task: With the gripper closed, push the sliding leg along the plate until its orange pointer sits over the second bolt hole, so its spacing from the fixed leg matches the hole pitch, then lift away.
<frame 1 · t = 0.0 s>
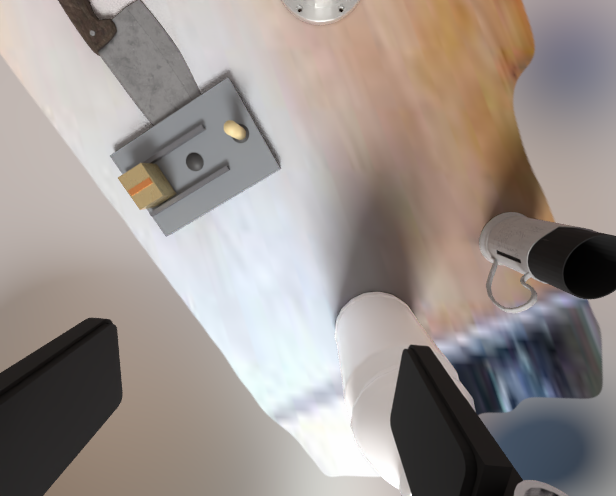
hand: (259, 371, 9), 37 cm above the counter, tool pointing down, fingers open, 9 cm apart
sliding leg: (148, 186, 41), point 4 cm above the counter, slide at 0.0 cm
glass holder: (491, 249, 47), on the counter
bolt plate: (198, 162, 44), on the counter
cleaver: (125, 37, 40), on the counter
bottle: (373, 326, 50), on the counter
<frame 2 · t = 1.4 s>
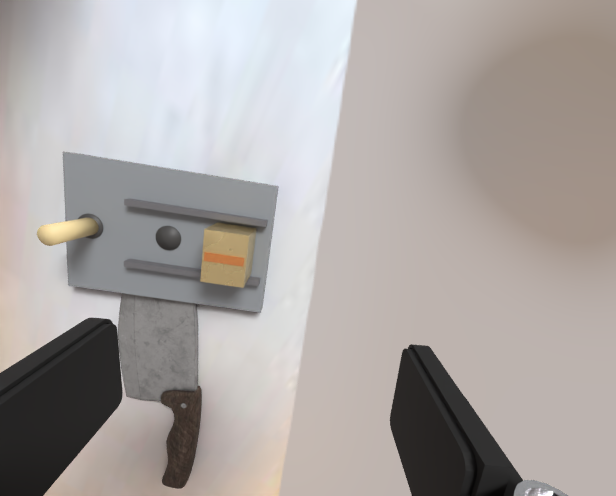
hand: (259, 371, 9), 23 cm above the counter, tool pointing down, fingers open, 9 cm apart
sliding leg: (229, 253, 28), point 4 cm above the counter, slide at 0.0 cm
bolt plate: (175, 235, 31), on the counter
cleaver: (167, 381, 36), on the counter
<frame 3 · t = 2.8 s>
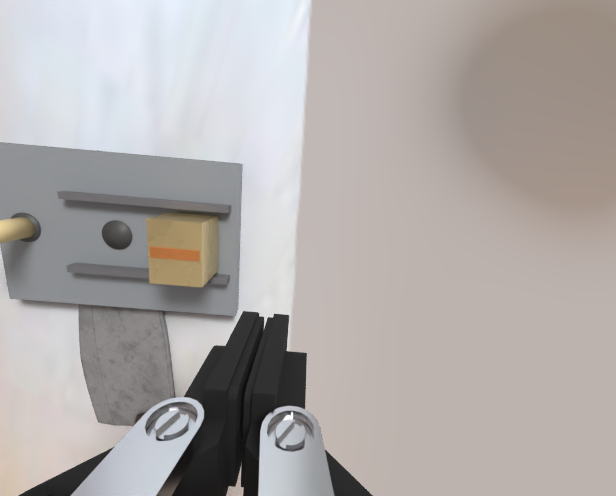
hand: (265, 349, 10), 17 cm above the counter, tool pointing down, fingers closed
sliding leg: (185, 247, 23), point 4 cm above the counter, slide at 0.0 cm
bolt plate: (127, 231, 27), on the counter
cleaver: (143, 402, 32), on the counter
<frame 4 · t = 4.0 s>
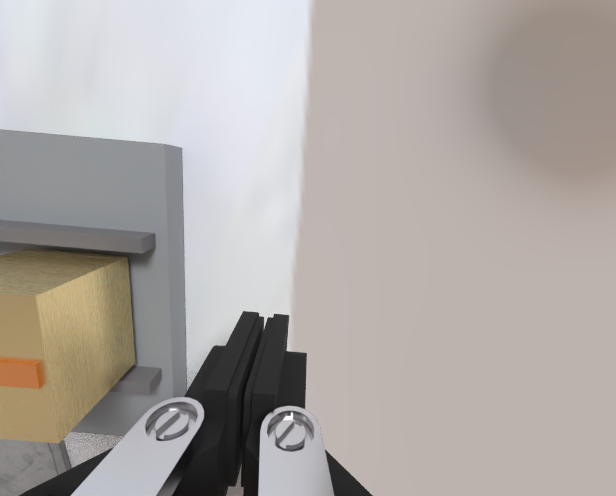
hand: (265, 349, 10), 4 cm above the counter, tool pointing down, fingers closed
sliding leg: (40, 334, 10), point 4 cm above the counter, slide at 0.0 cm
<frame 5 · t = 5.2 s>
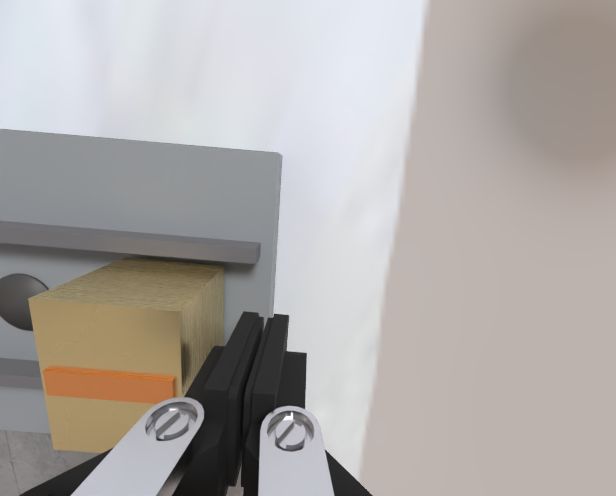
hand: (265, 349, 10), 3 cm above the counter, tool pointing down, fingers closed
sliding leg: (149, 346, 10), point 4 cm above the counter, slide at 0.4 cm, touching gripper
bolt plate: (56, 288, 14), on the counter
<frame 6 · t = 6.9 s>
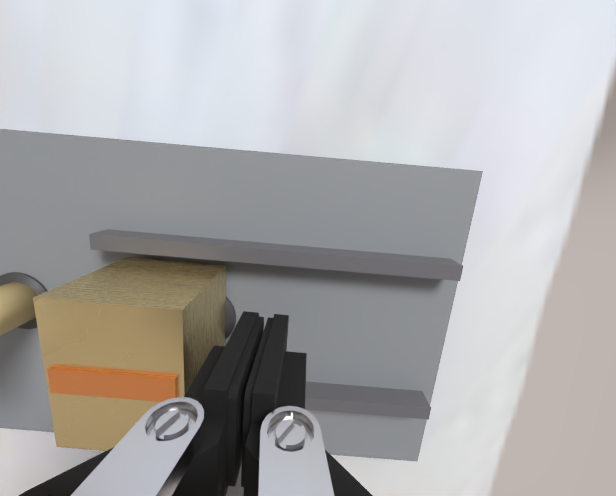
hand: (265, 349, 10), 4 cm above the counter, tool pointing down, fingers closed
sliding leg: (151, 344, 10), point 4 cm above the counter, slide at 8.1 cm, touching gripper
bolt plate: (217, 301, 14), on the counter
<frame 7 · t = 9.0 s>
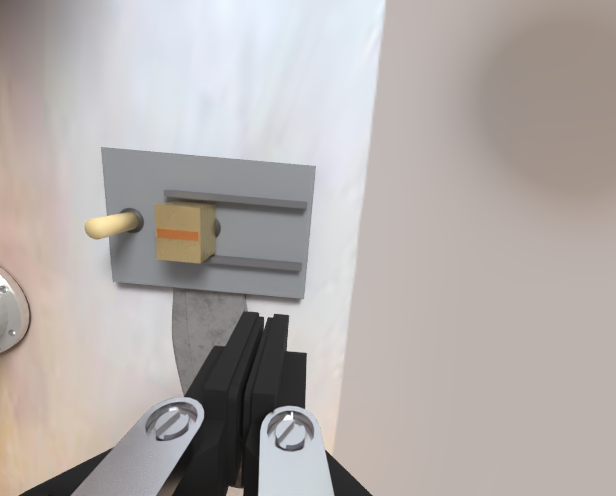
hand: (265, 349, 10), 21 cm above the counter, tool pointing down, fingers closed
sliding leg: (187, 230, 27), point 4 cm above the counter, slide at 8.1 cm
bolt plate: (213, 224, 31), on the counter
cleaver: (223, 383, 37), on the counter
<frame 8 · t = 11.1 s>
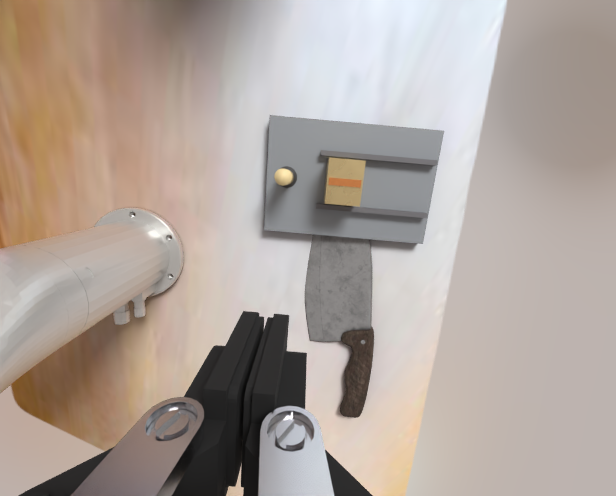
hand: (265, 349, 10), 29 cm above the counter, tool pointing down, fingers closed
sliding leg: (343, 182, 33), point 4 cm above the counter, slide at 8.1 cm
bolt plate: (348, 182, 37), on the counter
cleaver: (341, 326, 43), on the counter
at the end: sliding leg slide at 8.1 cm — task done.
